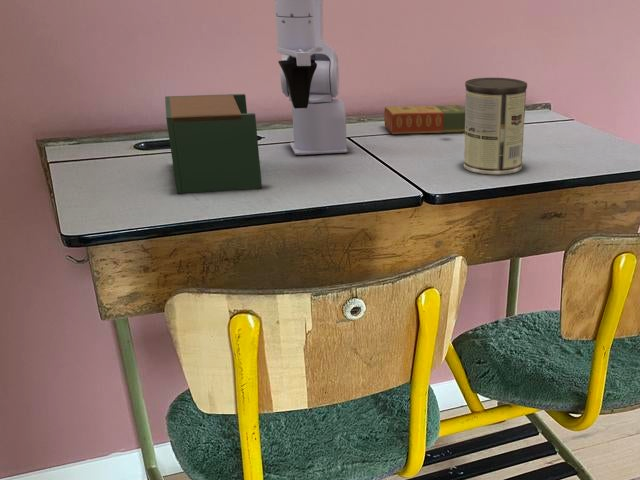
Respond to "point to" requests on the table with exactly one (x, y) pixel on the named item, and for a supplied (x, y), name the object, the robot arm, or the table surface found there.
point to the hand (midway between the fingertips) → (300, 107)
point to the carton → (425, 119)
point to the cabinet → (213, 143)
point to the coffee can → (494, 125)
